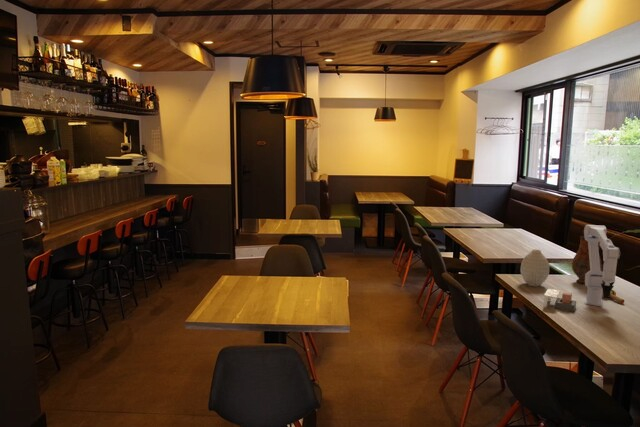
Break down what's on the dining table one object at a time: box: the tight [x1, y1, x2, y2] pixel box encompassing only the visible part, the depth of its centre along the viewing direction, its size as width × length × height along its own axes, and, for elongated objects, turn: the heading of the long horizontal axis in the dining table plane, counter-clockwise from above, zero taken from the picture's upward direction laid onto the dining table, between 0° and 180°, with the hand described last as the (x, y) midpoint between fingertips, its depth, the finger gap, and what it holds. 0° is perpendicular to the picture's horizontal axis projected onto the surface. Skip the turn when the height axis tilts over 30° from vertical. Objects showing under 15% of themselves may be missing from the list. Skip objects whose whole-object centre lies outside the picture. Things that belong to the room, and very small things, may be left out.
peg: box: [561, 291, 573, 304], centre depth 255 cm, size 4×4×8 cm
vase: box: [520, 248, 550, 288], centre depth 295 cm, size 16×16×22 cm
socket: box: [554, 297, 577, 313], centre depth 256 cm, size 9×9×4 cm
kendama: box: [602, 289, 625, 305], centre depth 273 cm, size 8×6×18 cm
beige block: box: [543, 288, 561, 309], centre depth 259 cm, size 14×6×7 cm, turn 146°
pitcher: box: [571, 235, 603, 286], centre depth 300 cm, size 17×21×30 cm
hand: (606, 295), depth 248 cm, fingers open, 7 cm apart
